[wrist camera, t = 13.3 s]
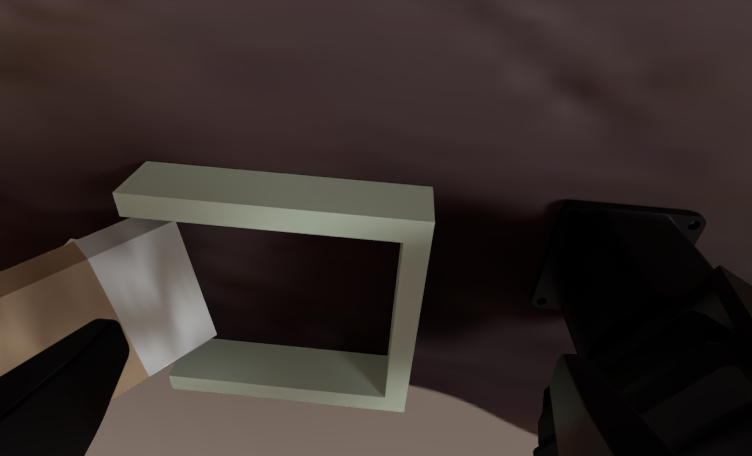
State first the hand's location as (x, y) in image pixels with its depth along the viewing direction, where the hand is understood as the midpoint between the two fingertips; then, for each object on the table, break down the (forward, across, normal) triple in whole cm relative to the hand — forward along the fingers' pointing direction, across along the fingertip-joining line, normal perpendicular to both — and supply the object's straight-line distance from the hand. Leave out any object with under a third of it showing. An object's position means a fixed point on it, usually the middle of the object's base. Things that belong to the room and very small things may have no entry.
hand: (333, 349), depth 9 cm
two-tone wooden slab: (+12, +10, +9) cm, 18 cm away
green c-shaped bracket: (+13, +5, +10) cm, 17 cm away
